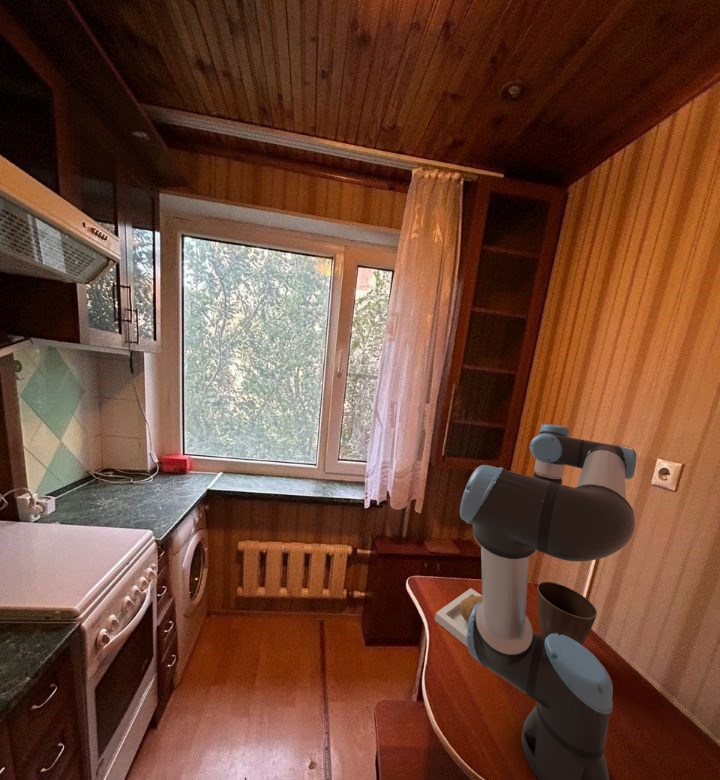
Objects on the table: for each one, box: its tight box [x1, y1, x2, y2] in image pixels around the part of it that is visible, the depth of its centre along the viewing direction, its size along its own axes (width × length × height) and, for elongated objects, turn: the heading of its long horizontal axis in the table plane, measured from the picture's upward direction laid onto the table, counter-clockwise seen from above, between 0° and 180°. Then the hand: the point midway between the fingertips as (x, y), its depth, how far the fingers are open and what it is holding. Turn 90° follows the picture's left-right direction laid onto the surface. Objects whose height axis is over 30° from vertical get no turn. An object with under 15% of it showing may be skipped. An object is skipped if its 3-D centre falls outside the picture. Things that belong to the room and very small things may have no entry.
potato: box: [460, 596, 482, 623], centre depth 97 cm, size 10×14×8 cm
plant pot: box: [536, 581, 598, 646], centre depth 92 cm, size 15×15×16 cm
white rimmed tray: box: [434, 587, 482, 647], centre depth 98 cm, size 22×18×3 cm
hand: (537, 542), depth 94 cm, fingers open, 13 cm apart
